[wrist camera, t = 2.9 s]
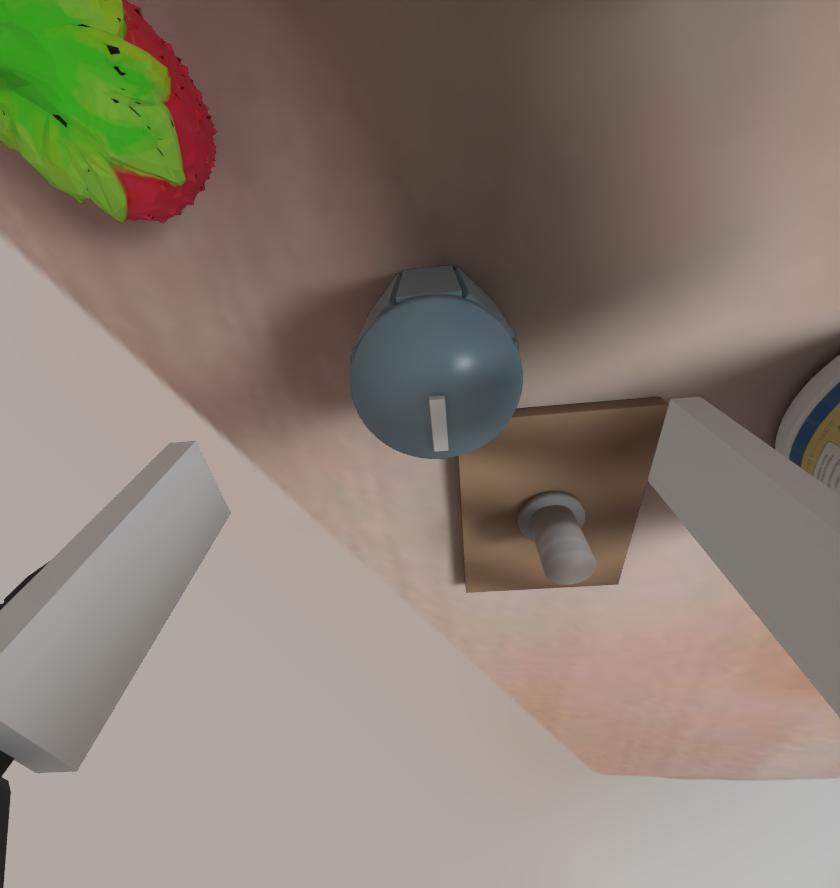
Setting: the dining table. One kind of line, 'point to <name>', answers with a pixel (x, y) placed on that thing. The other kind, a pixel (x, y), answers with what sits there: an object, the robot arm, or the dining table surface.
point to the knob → (435, 365)
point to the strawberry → (102, 106)
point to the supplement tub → (815, 427)
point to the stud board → (557, 494)
